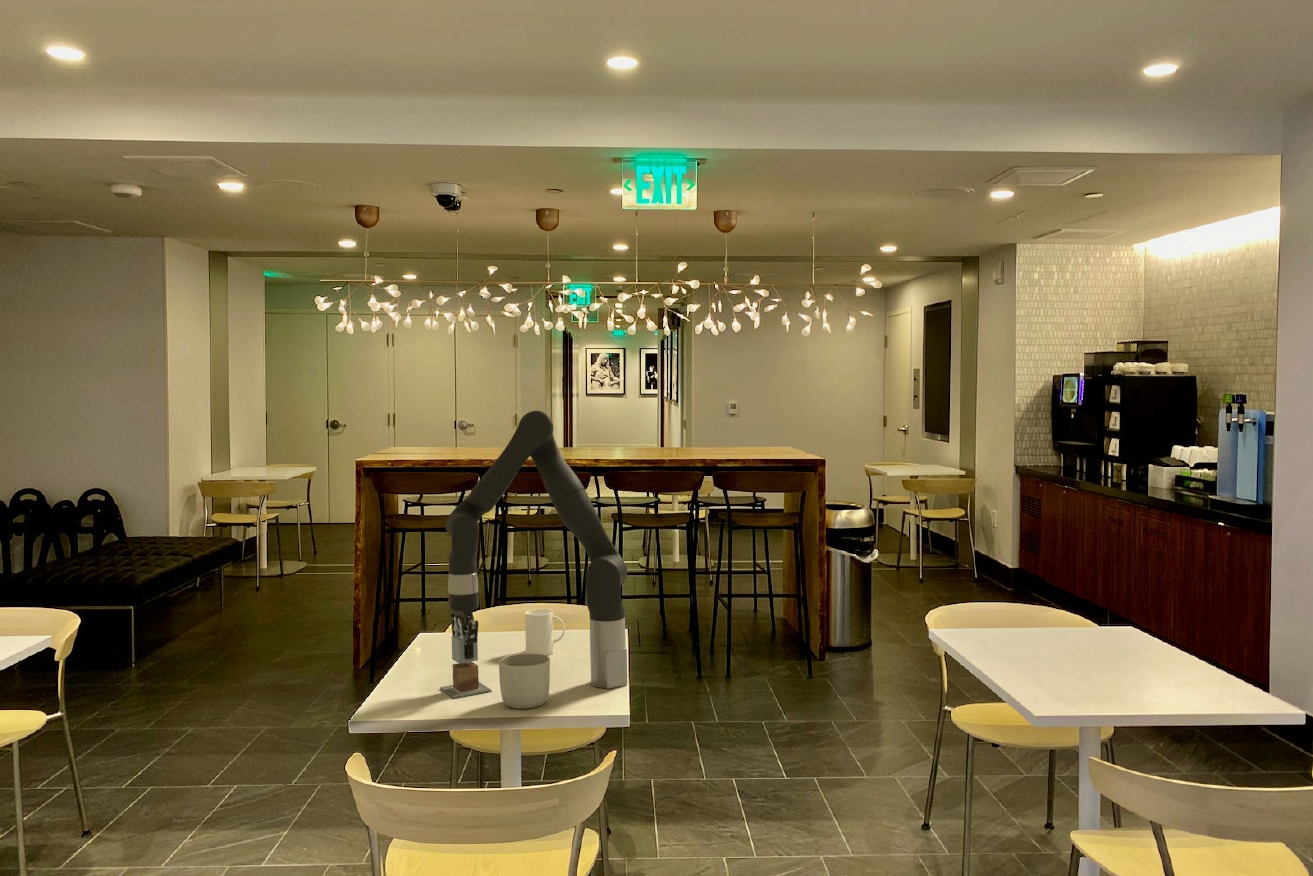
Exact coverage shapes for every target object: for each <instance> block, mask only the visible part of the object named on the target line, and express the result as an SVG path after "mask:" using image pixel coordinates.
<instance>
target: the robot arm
mask: <svg viewBox="0 0 1313 876" xmlns="http://www.w3.org/2000/svg"><path fill="white" fill-rule="evenodd" d="M529 458H531V460H532V461H533V464H535V466H536V468H537V470H538V472H539V474H540V477H541V480H542V483H543V485H544V487H545V490H546V492H547V494H548V496H549V498H550V501H551V502H552V504H553V507H554V509H555V511H556V513H557V515H558V517H559V518H560V521H562V524H564V526H565V527H566V528H567V529H568V530H569V532H570V533H572V535H573V536H574V537H575V538H576V539H577V540H578V541H579V542H580V544H581V545H582V547H583V548H584V551H585V552H586V554H587V557H588V559H589V561H590V563H589V565H588V566H587V569H586V572H585V592H586V594H585V596H586V606H587V610H588V613H589V645H590V646H589V649H590V651H589V654H590V655H589V656H590V685H592V686H594V687H597V688H603V689H607V690H608V689H614V688H618V687H623V686H627V685H628V649H627V648H626V609H625V606H624V605H623V603H622V595H621V594H622V592H621V591H622V590H621V586H622V585H623V584H624V583H625V582H626V579H627V577H628V568H627V564H626V562H625V561H624V558H623V557H622V555H620V552H619V551H618V550H617V548H616V547H615V545H614V544H613V541H612V540H611V539H610V537H609V536H608V533H607V532H606V530H605V528H604V526H603V523H602V521H601V519H600V517H599V515H598V513H597V511H596V509H595V506H594V505H593V503H592V500H591V498H590V497H589V494H588V492H587V490H586V489H585V487H584V485H583V484H582V482H581V480H580V479H579V477H578V476H577V475H576V473H575V472H574V470H573V469H572V468H571V467H570V466H569V464H568V463H567V462H566V460H565V458H564V456H563V455H562V453H561V451H560V448H559V446H558V444H557V442H556V439H555V437H554V422H553V420H552V417H550V415H549V414H547V413H546V412H545V411H542V410H531V411H528V412H526V413H525V414H524V415H523V416H522V417H521V418H520V420H519V422H518V425H517V428H516V430H515V431H514V433H513V435H512V437H511V438H510V440H509V442H508V443H507V445H506V447H505V448H504V449H503V451H502V452H501V453H500V455H499V456H498V457H497V459H496V460H495V461H494V462H493V463H492V465H491V466H490V467H489V468H488V470H487V471H486V472H485V473H484V475H482V477H481V478H480V480H479V481H478V482H477V484H476V485H474V487H473V488H472V490H471V492H470V493H469V494H468V495H467V496H466V497H465V498H464V499H463V500H461V502H460V503H459V504H458V505H457V506H456V507H455V508H454V509H453V510H452V511H451V512H450V514H449V515H448V517H447V519H446V521H445V530H446V533H447V534H448V535H449V536H450V537H451V551H450V552H449V554H448V582H447V584H448V585H447V586H448V587H447V590H448V595H447V596H448V609H449V610H450V611H452V612H450V623H451V636H456V635H461V636H463V639H464V658H465V659H472V658H473V657H474V653H473V644H474V643H478V636H479V621H478V620H477V619H476V620H475V616H474V614H473V612H474V610H477V609H478V608H479V604H480V603H479V599H480V598H479V579H478V567H477V566H478V564H477V561H478V560H477V551H478V546H479V537H480V535H479V533H480V531H479V529H480V527H479V523H478V522H479V521H480V519H481V518H482V517H484V515H485V514H487V513H489V512H491V511H492V510H493V508H494V507H495V506H496V505H497V503H498V502H499V501H500V499H502V497H503V496H504V494H505V493H506V491H507V490H508V488H509V487H510V485H511V484H512V482H513V481H514V479H515V477H516V476H517V474H518V473H519V471H520V469H521V468H522V467H523V465H524V464H525V463H526V461H527V460H528V459H529ZM466 635H467V637H466ZM470 637H471V639H470Z"/></svg>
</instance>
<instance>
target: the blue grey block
mask: <svg viewBox="0 0 1313 876" xmlns="http://www.w3.org/2000/svg"><path fill="white" fill-rule="evenodd" d="M466 637H467V635H466ZM470 639H471V637H470ZM478 644H479V643H478V642H477V643H474V644H473V653H474V657H473V658H472V659H465V658H464V639H463V636H461V635H456V636H453V635H451V660H453V661H455V662H456V664H458V663H459V664H460V663H466V662H475V661H478V660H479V652H478V651H479V649H478V646H479V645H478Z"/></svg>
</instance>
